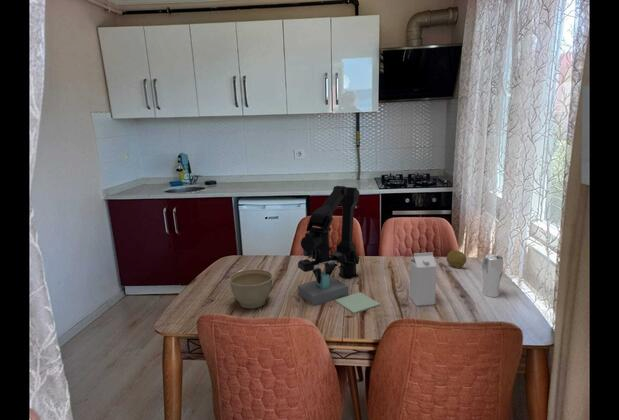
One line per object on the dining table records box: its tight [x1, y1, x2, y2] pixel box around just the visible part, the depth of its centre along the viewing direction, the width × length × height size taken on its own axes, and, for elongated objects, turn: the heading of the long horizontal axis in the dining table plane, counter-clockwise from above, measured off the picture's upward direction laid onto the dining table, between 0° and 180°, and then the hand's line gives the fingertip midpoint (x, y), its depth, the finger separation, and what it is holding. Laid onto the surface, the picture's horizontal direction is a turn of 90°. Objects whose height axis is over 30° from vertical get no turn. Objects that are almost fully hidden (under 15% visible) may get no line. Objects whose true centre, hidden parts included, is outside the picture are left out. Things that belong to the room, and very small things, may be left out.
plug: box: [315, 270, 330, 289], centre depth 146 cm, size 3×5×9 cm, turn 29°
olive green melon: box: [446, 249, 467, 269], centre depth 169 cm, size 7×8×8 cm
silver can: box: [481, 253, 504, 298], centre depth 141 cm, size 7×7×15 cm
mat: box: [334, 291, 381, 315], centre depth 139 cm, size 12×12×1 cm
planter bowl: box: [228, 268, 274, 310], centre depth 141 cm, size 16×16×11 cm
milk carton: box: [409, 251, 437, 307], centre depth 136 cm, size 7×7×19 cm
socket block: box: [297, 275, 350, 307], centre depth 146 cm, size 16×12×4 cm
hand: (322, 282), depth 145 cm, fingers open, 3 cm apart
